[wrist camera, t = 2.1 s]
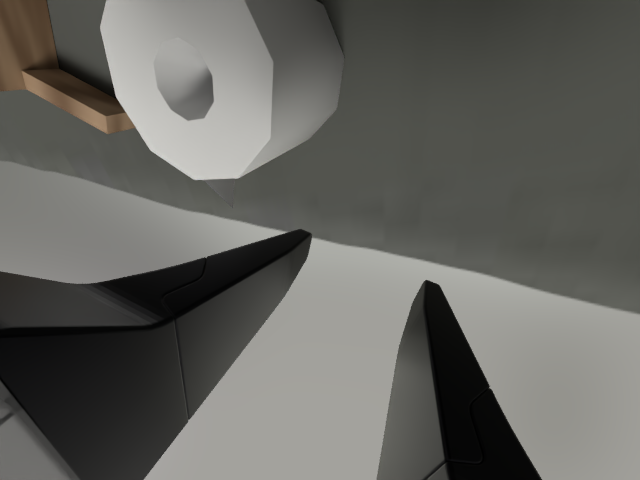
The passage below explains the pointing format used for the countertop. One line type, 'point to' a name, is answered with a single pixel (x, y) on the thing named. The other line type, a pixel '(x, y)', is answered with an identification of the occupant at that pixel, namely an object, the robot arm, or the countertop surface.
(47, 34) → the roll cradle
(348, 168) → the countertop surface
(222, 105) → the toilet tissue
